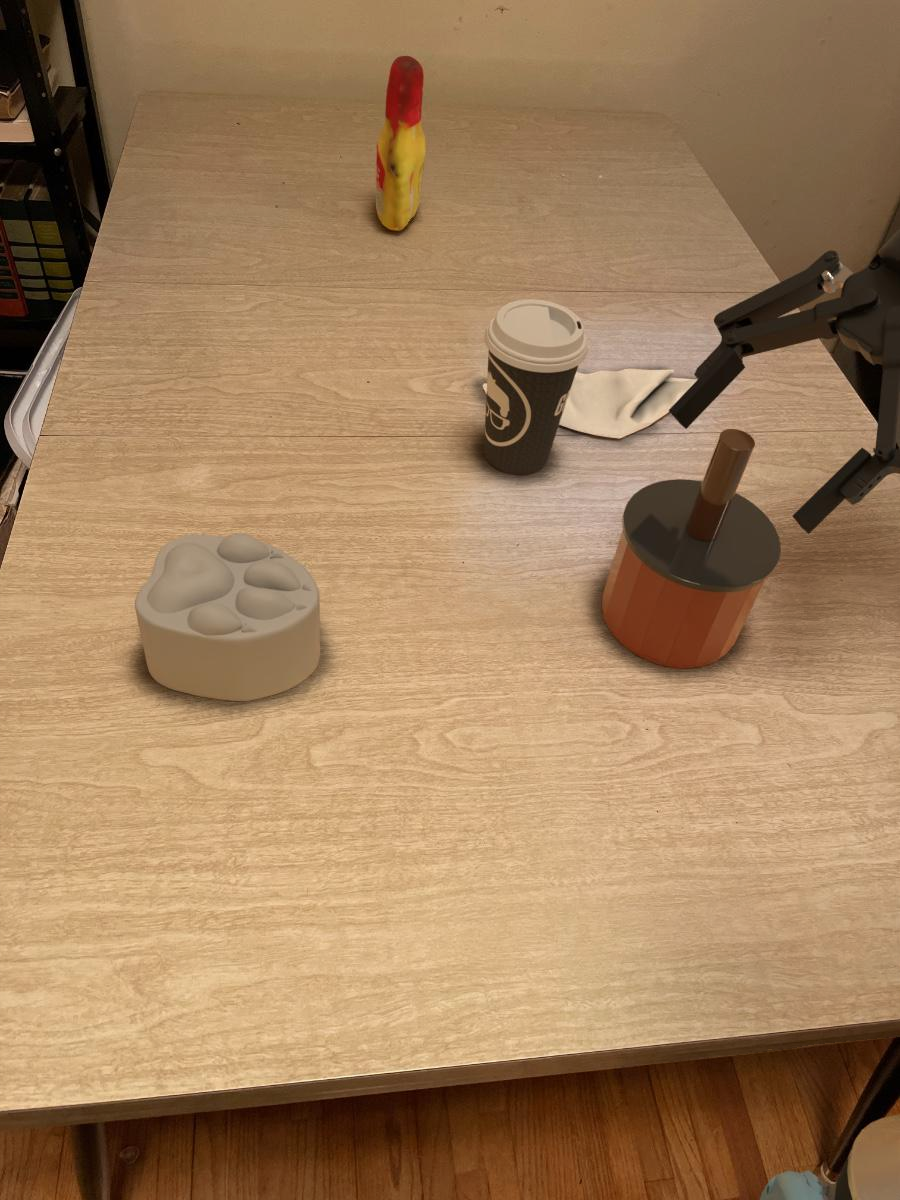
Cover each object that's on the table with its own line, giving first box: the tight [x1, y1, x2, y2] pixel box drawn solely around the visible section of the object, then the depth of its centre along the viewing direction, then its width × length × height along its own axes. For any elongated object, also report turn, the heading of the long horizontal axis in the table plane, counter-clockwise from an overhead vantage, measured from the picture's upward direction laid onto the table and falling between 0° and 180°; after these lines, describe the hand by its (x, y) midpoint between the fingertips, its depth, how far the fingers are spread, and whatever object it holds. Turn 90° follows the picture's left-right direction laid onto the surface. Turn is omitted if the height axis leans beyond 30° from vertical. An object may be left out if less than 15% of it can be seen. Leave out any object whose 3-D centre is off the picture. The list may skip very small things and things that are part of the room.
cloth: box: [482, 368, 698, 440], centre depth 104 cm, size 26×14×2 cm, turn 91°
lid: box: [621, 428, 782, 593], centre depth 74 cm, size 13×13×10 cm
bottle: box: [375, 55, 427, 232], centre depth 123 cm, size 12×6×20 cm, turn 173°
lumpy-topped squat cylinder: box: [134, 532, 321, 702], centre depth 73 cm, size 10×13×9 cm
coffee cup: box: [483, 298, 589, 476], centre depth 92 cm, size 10×10×15 cm
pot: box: [601, 529, 766, 669], centre depth 80 cm, size 12×12×10 cm
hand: (735, 470), depth 73 cm, fingers open, 13 cm apart
